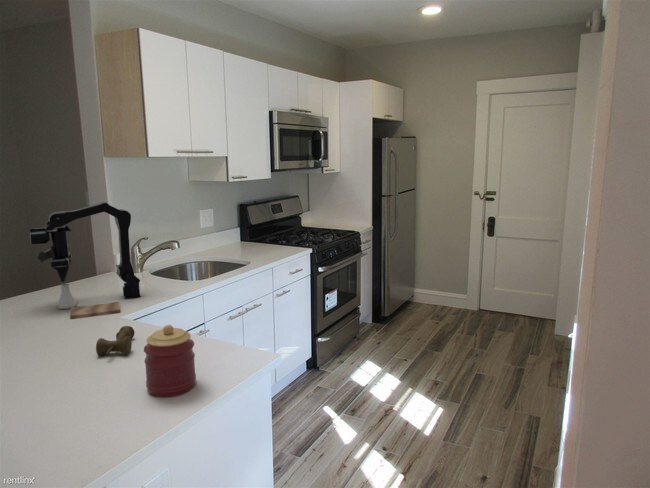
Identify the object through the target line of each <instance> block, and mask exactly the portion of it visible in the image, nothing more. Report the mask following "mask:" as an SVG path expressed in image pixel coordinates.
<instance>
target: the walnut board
mask: <svg viewBox="0 0 650 488" xmlns="http://www.w3.org/2000/svg"><path fill="white" fill-rule="evenodd" d="M120 313H121V305H120V301H115V302H108V303H100V304H98V303H97V304H91V305H83V306H75V307H72V308H70V314H69V319H70V320H74V319H81V318H82V319H83V318H89V317H97V316H104V315H112V314H120Z"/></svg>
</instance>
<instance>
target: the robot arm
mask: <svg viewBox="0 0 650 488" xmlns="http://www.w3.org/2000/svg"><path fill="white" fill-rule="evenodd" d="M100 213H106V214H107V215H111V216H113V217H114V221H115V225H116V228H117V230H118V246H119V247H118V248H119V259H120V260H119V263H118V264H116V265H115V267H116V272H115V273H116V275H118V276H117V277H118V278H120V280H121V281H123V282H124V283H123V286H122V295H123V297H124V299H132V298H140V297H141V292H140V282H141V279H140V278H138V276H136V275H135V271H134V268H133V264H132V262H131V252H130V251H131V249H130V234H129V232H130V231H129V229H130V226H131V222H132V215H131V212H129V211H127V210H125V209H118V208H117V207H115V206H113V205H110V204H109V203H107V202H105V201H101V202H100V203H95V204H92V205H88V206H85V207H80V208H78V209H77V208H76V209H74V210H61V211H53V212H51V213H50V214H49V215H48V221H47V223H46V224H45V226H44V227H38V228H37V227H36V228H34V227H31V228H29V240H30V242H29V243H30V245H31V246H37V245H47V244H48V243H49V242H50V241H51V246H50V248H49V249H46V250H42V251H39V253H37V255H36V257H37V259H38V261H39V262H40V263H43V262H44V261H48V260H50V259H52V260H51V262H50V268H52V269H53V270H55V271H57V275H58V277H59V279H60V282H62V283H64V282H65V281H66V277H67V275H68V272H69V268H70V265H71V263H72V258H73V257H72V256H73V255H72V252H70V251H69V243H68V235H67V232H71V231H72V230H73V229H71V228H70V227H69V226H68V224H69V223H72V222H73V221H76V220H78V219H82V218H86V217H90V216H94V215H97V214H100ZM50 238H51V239H50Z"/></svg>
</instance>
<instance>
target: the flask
mask: <svg viewBox="0 0 650 488" xmlns="http://www.w3.org/2000/svg"><path fill="white" fill-rule="evenodd" d="M59 285H60V287H61V288H60V289H61V293H60V297H59V301H58V303H57V306H56V309H59V310H69V309H71V308H72V307H78V303H77V302H76V300H75V298H74V297H73V294H72V293H71V291H70V283H67V282H66V283H61V284H59Z"/></svg>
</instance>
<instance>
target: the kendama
mask: <svg viewBox="0 0 650 488" xmlns="http://www.w3.org/2000/svg"><path fill="white" fill-rule="evenodd" d="M135 333H136V332H135V329H134V328H133V327H132V326H130V325H124V326H122V327H121V328H119V331H118V332H117V333H116V334H115V337H116V340H108V339H105V338H103V337H100V338H98V340H97V341H96V344H95V345H96V346H95V351H96V355H97V356H99V357H102V356H104V355H109V354H110V353H112V352H118V353H121V354H124V355H125V356H128V355H130V354H131V350H132V339H133V338H134V337H135Z"/></svg>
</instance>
